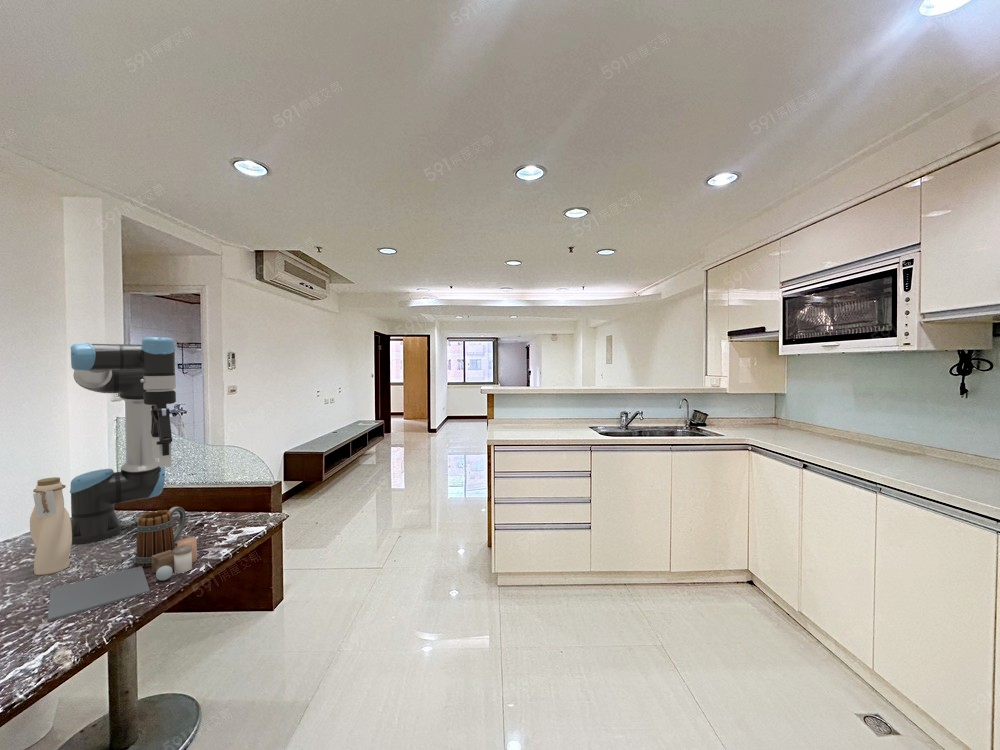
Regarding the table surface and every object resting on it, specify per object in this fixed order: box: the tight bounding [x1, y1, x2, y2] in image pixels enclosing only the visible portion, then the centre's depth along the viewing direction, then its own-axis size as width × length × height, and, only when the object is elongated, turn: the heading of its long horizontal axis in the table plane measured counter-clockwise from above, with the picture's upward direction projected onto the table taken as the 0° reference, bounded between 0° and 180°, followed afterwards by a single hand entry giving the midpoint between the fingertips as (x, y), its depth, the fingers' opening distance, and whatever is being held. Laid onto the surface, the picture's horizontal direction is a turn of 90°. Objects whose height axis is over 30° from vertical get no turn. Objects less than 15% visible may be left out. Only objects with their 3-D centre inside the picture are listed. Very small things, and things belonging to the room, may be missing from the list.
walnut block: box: [151, 550, 174, 574], centre depth 137 cm, size 5×5×5 cm
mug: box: [134, 506, 187, 568], centre depth 146 cm, size 16×11×15 cm
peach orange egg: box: [176, 536, 198, 563], centre depth 142 cm, size 5×5×7 cm
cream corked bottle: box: [29, 476, 73, 576], centre depth 136 cm, size 10×9×28 cm
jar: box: [173, 545, 193, 574], centre depth 137 cm, size 5×5×7 cm
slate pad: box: [47, 566, 151, 623], centre depth 124 cm, size 20×20×1 cm
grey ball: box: [155, 566, 174, 582], centre depth 131 cm, size 4×4×4 cm
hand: (161, 462), depth 131 cm, fingers open, 13 cm apart
